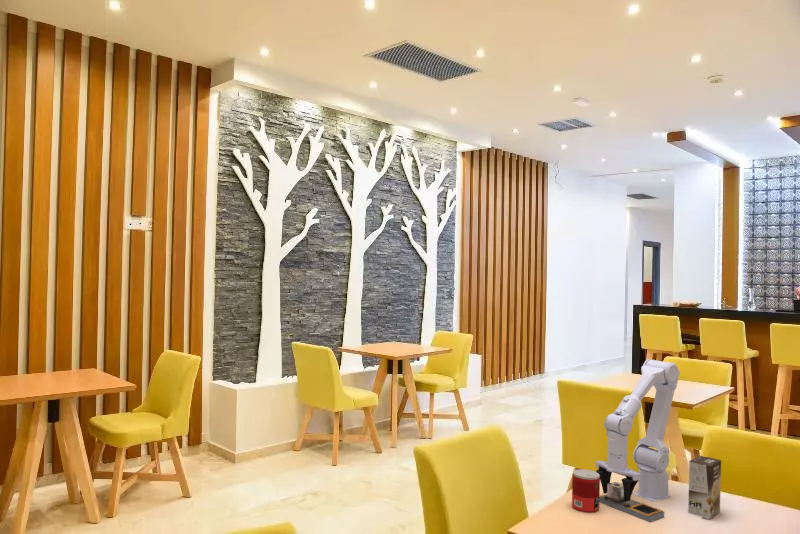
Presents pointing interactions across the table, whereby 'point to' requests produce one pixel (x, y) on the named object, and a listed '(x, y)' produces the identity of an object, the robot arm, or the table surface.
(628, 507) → the rail
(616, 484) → the silver square slider
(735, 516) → the table surface
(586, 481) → the canned food
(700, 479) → the coffee box
